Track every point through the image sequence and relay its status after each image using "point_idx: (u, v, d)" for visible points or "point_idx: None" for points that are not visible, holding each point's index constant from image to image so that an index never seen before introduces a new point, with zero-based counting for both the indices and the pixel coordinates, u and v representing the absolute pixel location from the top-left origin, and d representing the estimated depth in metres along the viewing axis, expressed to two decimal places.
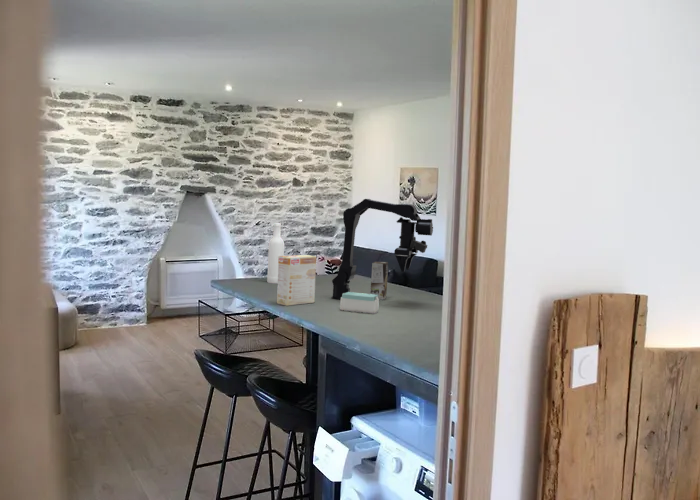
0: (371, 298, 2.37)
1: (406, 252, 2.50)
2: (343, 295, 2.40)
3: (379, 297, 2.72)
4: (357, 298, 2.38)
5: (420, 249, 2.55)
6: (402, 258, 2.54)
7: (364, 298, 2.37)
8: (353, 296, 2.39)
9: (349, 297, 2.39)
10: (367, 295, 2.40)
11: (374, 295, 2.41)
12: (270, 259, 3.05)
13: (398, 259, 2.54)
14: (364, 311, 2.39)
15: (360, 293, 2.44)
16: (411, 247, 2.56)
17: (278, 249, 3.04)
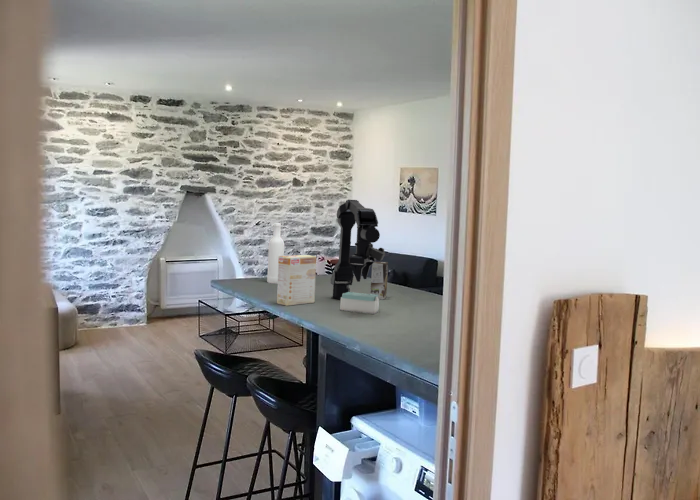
0: (371, 298, 2.37)
1: (361, 260, 2.31)
2: (343, 295, 2.40)
3: (379, 297, 2.72)
4: (357, 298, 2.38)
5: (377, 257, 2.37)
6: (357, 267, 2.36)
7: (364, 298, 2.37)
8: (353, 296, 2.39)
9: (349, 297, 2.39)
10: (367, 295, 2.40)
11: (374, 295, 2.41)
12: (270, 259, 3.05)
13: (353, 268, 2.36)
14: (364, 311, 2.39)
15: (360, 293, 2.44)
16: (367, 255, 2.37)
17: (278, 249, 3.04)
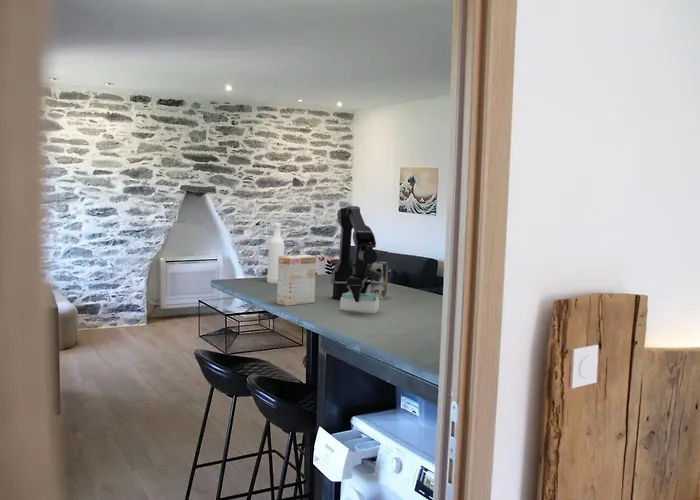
0: (371, 298, 2.37)
1: (359, 282, 2.32)
2: (343, 295, 2.40)
3: (379, 297, 2.72)
4: None
5: (375, 278, 2.37)
6: (356, 287, 2.37)
7: (364, 298, 2.37)
8: None
9: (349, 297, 2.39)
10: (367, 295, 2.40)
11: (374, 295, 2.41)
12: (270, 259, 3.05)
13: (351, 288, 2.37)
14: (364, 311, 2.39)
15: (360, 293, 2.44)
16: (365, 276, 2.38)
17: (278, 249, 3.04)
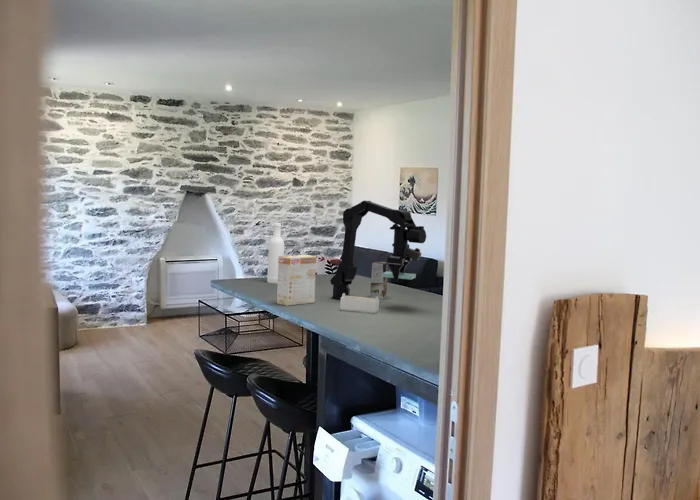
0: (410, 276, 2.45)
1: (399, 260, 2.41)
2: (383, 274, 2.49)
3: (379, 297, 2.72)
4: None
5: (414, 257, 2.46)
6: (395, 266, 2.46)
7: (403, 277, 2.46)
8: None
9: (389, 276, 2.48)
10: (406, 274, 2.49)
11: (412, 274, 2.50)
12: (270, 259, 3.05)
13: (391, 267, 2.46)
14: (364, 311, 2.39)
15: None
16: (404, 255, 2.46)
17: (278, 249, 3.04)
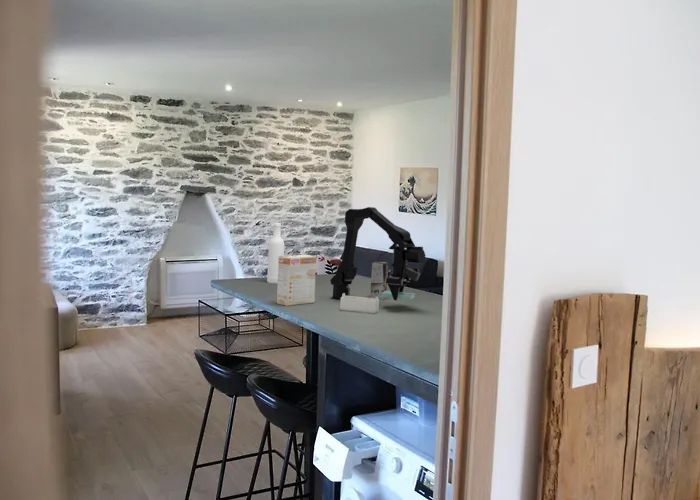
0: (409, 297, 2.46)
1: (398, 281, 2.41)
2: (382, 294, 2.50)
3: (379, 297, 2.72)
4: None
5: (413, 277, 2.47)
6: (394, 286, 2.46)
7: (402, 297, 2.47)
8: None
9: (388, 296, 2.49)
10: (405, 294, 2.50)
11: (411, 294, 2.51)
12: (270, 259, 3.05)
13: (390, 287, 2.46)
14: (364, 311, 2.39)
15: None
16: (403, 275, 2.47)
17: (278, 249, 3.04)
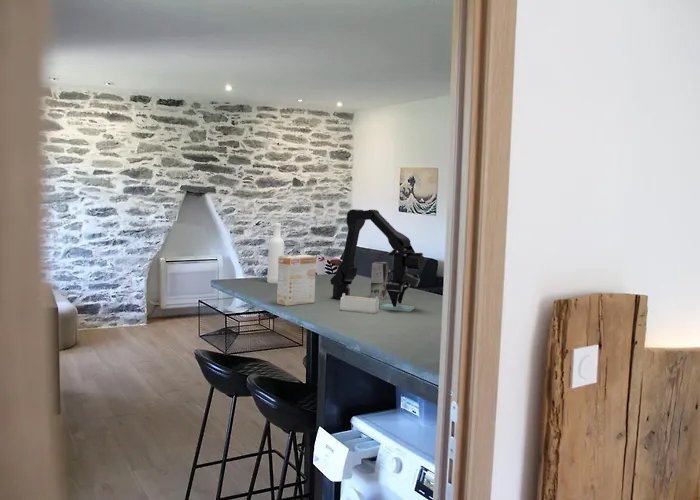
0: (409, 310, 2.47)
1: (398, 287, 2.42)
2: (381, 307, 2.50)
3: (379, 297, 2.72)
4: None
5: (412, 283, 2.47)
6: (394, 293, 2.46)
7: (402, 310, 2.48)
8: (391, 308, 2.49)
9: None
10: (404, 307, 2.50)
11: (411, 307, 2.51)
12: (270, 259, 3.05)
13: (390, 294, 2.46)
14: (364, 311, 2.39)
15: (397, 305, 2.55)
16: (403, 281, 2.47)
17: (278, 249, 3.04)
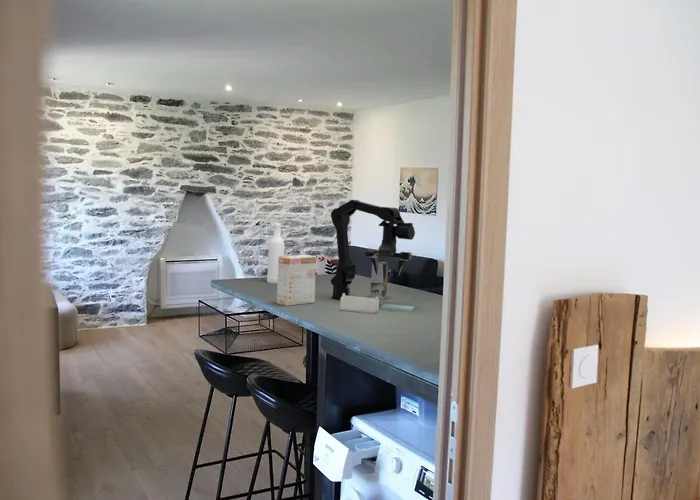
0: (408, 310, 2.47)
1: None
2: (381, 307, 2.50)
3: (379, 297, 2.72)
4: None
5: None
6: None
7: (402, 310, 2.48)
8: (391, 308, 2.49)
9: None
10: (404, 307, 2.50)
11: (411, 307, 2.51)
12: (270, 259, 3.05)
13: None
14: (364, 311, 2.39)
15: (397, 305, 2.55)
16: None
17: (278, 249, 3.04)
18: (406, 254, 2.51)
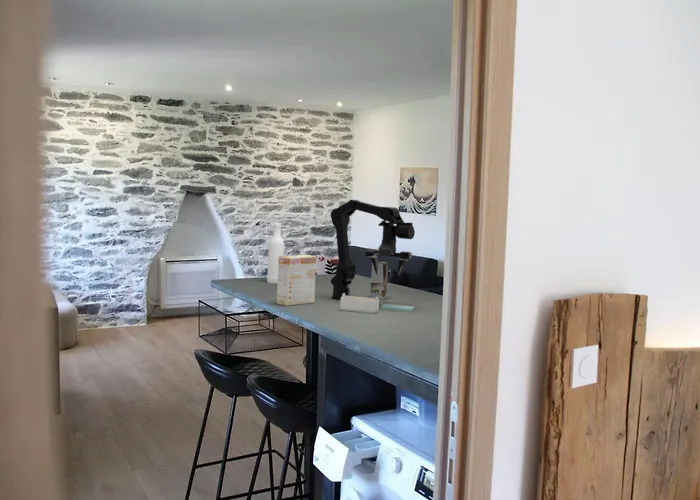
0: (408, 310, 2.47)
1: None
2: (381, 307, 2.50)
3: (379, 297, 2.72)
4: None
5: None
6: None
7: (401, 310, 2.48)
8: (391, 308, 2.49)
9: None
10: (404, 307, 2.50)
11: (411, 307, 2.51)
12: (270, 259, 3.05)
13: None
14: (364, 311, 2.39)
15: (397, 305, 2.55)
16: None
17: (278, 249, 3.04)
18: (406, 254, 2.51)
